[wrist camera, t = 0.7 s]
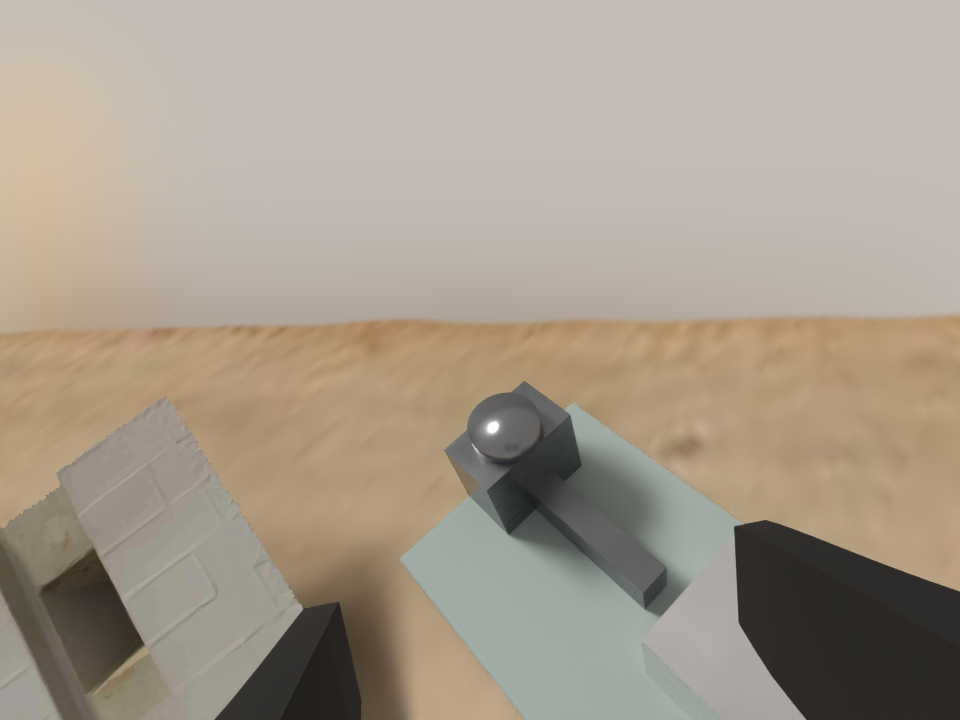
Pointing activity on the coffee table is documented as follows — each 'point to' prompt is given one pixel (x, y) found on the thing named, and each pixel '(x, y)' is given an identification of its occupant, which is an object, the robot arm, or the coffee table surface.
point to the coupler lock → (712, 653)
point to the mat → (571, 586)
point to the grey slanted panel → (135, 586)
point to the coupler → (545, 484)
